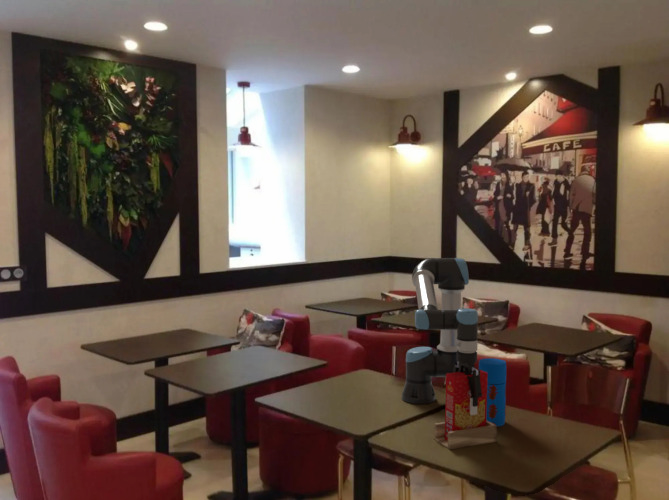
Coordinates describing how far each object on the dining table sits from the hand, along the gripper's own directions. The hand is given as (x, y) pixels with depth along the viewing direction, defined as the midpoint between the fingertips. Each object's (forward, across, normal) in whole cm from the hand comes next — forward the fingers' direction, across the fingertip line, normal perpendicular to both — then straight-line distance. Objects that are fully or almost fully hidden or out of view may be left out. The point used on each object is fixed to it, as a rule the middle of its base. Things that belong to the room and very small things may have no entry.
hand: (465, 410), depth 227 cm
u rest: (+12, 0, 0) cm, 12 cm away
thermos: (+12, -13, +21) cm, 27 cm away
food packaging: (+11, 0, 0) cm, 11 cm away
